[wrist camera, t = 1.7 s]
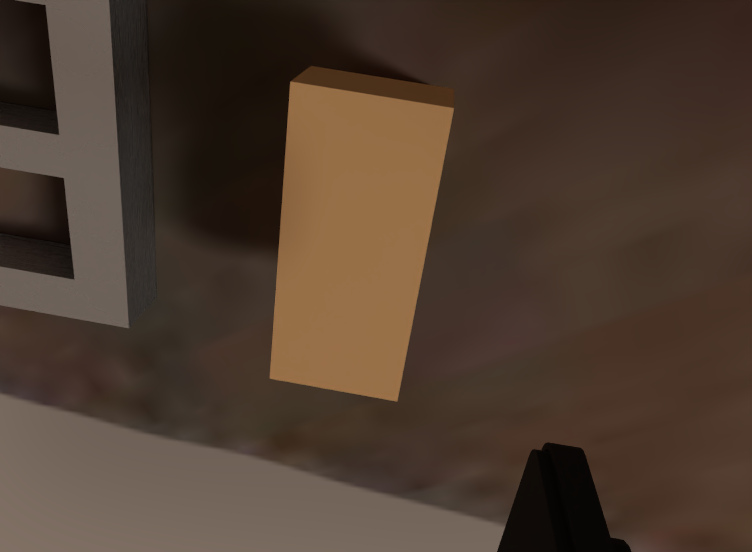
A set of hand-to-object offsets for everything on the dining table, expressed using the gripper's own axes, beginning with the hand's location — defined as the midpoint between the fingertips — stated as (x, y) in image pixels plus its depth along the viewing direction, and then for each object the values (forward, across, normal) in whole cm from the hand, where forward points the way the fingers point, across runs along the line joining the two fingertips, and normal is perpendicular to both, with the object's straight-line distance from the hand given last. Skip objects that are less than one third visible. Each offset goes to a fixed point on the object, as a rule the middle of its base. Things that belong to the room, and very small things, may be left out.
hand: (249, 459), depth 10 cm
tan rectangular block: (+14, -1, 0) cm, 14 cm away
